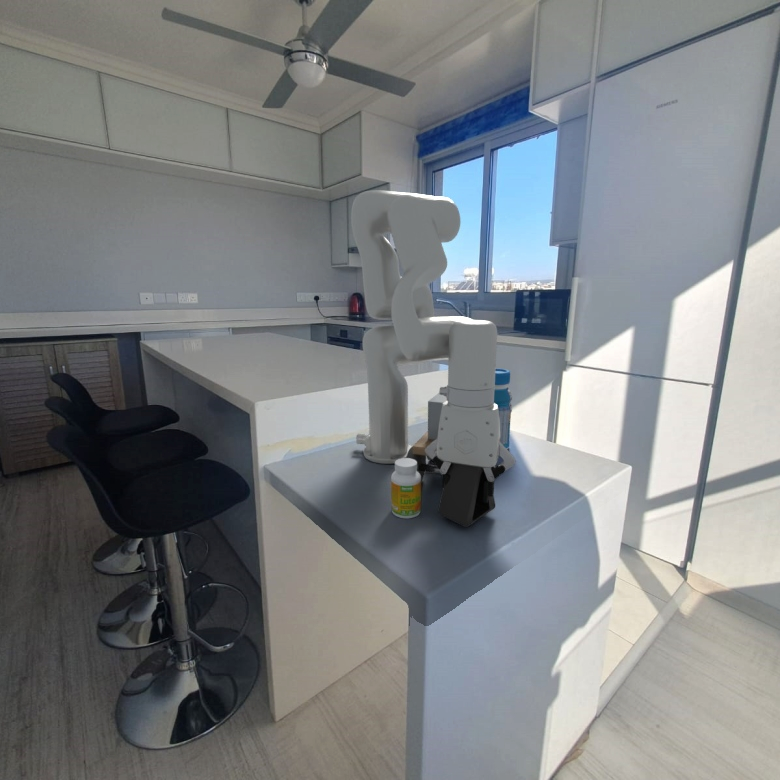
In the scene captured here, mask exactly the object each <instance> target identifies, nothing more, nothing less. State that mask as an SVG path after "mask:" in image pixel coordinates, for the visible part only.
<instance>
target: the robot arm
mask: <svg viewBox="0 0 780 780" xmlns="http://www.w3.org/2000/svg"><path fill="white" fill-rule="evenodd" d="M350 212H351V213H350V222H351V231H352V235H353V239H354V241H355V245H356V248H357V250H358V254H359V256H360V262H361V270H362V281H363V283H362V284H363V292H364V304H365V309H366V312H367V314H368V315H369V317H370V318H372V319H375V320H379V321H381V320H391V322H392V324H390V325H379V326H374V327H372V328H370V329H369V330H367V331H366V332H365V334H364V335H363V338H362V352H363V355H364V356H363V357H364V361H365V368H366V375H367V393H368V395H367V396H368V397H367V401H368V426H369V427H368V429H369V430H368V432H369V434H365V433H357V434H356V437H355V438H356V444H357V445H364V446H365V447H364V449H363V456H364V458H365V459H366V460H368V461H370V462H373V463H377V464H382V465H383V464H386V465H387V464H391V465H392V464H395V461H396V460H398V459H401V458H406V456H407V453H408V451H409V449H410V448H411V447H412V446H413V445H411V444H409V386H408V382H407V379H406V378H405V376H404V375H403V374H402V372H401V371H400V369H399V367H402V366H407V365H418V364H425V363H429V362H434V361H442V360H443V361H444V360H446V361H448V365H447V367H448V368H447V369H448V371H447V385H445V386H440V388H439V390H438V391H439V392H438V393H440V395H444V396H446V398H447V401H446V402H444V403H443V405H442V409H441V414H440V420H439V429H438V438H437V439H436V440H434V441H433V442H432V443H431V444H430V445H429V446H427V448H426V449H425V452H426V454H427V455H428V456H429V457H430V458H431V459H432V460H431V461H432V462H433V463H434V465H436V466H437V467H438V468H439V469H440V472H441V473H442V474H441V478H442V479H441V488H442V489H443V487H444V483H445V485H446V484H448V481H449V476H450V475H449V474H447V472H448V471H449V470H448V469H449V466H450V464H451V463H455V464H462V465H468V466H475V467H482V468H483V469H484V472H485V474H486V479H485V480H484V488H483V502H484V503H487V502H488V500H489V497H493V496H494V493H495V480H496V479H498V477H500V476H501V475H503V474H504V473H505V472H507V471H508V470H509V469H510V468H512V467H514V466H515V465H516V462H517V460H516V458H515V456H513V454H512V453H511V452H510V451H509V449H506V448H505V447H504V445H503V444H502V443H501V439H500V418H499V411H498V405H497V404H495V403H494V390H495V369H496V368H497V366H496V365H497V364H496V363H497V347H498V346H497V345H498V341H497V340H498V328H497V326H496V324H495V323H494V322H492V321H490V320H485V319H484V320H483V319H473V318H471V317H466V316H463V315H462V316H461V315H459V316H457V315H455V316H454V315H452V316H435V309H434V306H435V305H434V299H433V293H432V290H431V287H430V286H429V285H430V284H431V283H433V282H435V281H436V280H438V279H439V278H440V277H441V276H443V275H444V274H445V271H446V270H447V268H448V258H447V255H446V253H445V252H446V251H445V250H444V246H443V243H449V242H451V241H453V240H454V239H456V237H457V236H458V233H460V232H459V231H460V228H461V214H460V211H459V208H458V206H457V205H456V202H454V201H453V200H452V199H450V198H449V197H445V196H434V195H429V194H421V193H412V192H403V191H402V192H401V191H393V190H392V191H391V190H383V189H381V190H378V189H377V190H375V189H374V190H367V191H366V190H365V191H363V192H360V193H359V194H357V195H356V196H355V198H354V200H353V202H352V206H351V211H350ZM384 234H389V235H390V234H391V237H392V241H393V243H394V247H395V248H394V247H393V245H392V244H391V243H390V241H389V240H388V239H387V238H386V237H385V236H384ZM400 268H401V271H402V276H401V274H400ZM436 448H437V451H436ZM499 457H500V458H501V459H502V460H503V461H502V462H500V463H499V464H498V465H497V463H498V460H499Z"/></svg>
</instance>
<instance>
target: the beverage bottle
mask: <svg viewBox="0 0 780 780" xmlns="http://www.w3.org/2000/svg"><path fill="white" fill-rule="evenodd" d="M510 382H511V371H510V370H508V369H504V368H497V367H496V369H495V390H494V403H495V404H497V405H498V411H499V418H500V439H501V443H502V444H503V445H504V447H505V448H506V449H507V450H509V448H510V433H511V432H510V431H511V420H512V419H511V415H512V412H513V411H512V410H513V406H512V404H511V402H512V401H513V396H512V392H511V390H510V389H509V387H508V386H509V385H510Z"/></svg>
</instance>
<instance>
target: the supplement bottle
mask: <svg viewBox="0 0 780 780" xmlns="http://www.w3.org/2000/svg"><path fill="white" fill-rule="evenodd" d="M390 477H391V478H390V482H391V483H390V491H391V493H390V494H391V496H390V497H391V498H390V499H391V502H390V503H391V512H392V514H393V515H394V516H395V517H397V518H401V519H413V518H415V517H418V516H419V515H420V513H421V511H422V502H421V501H422V482H421V475H420V474H419V472H417V461H416V460H414V459H411V458H401V459H398V460H396V461H395V463H394V471H393V472H392V474H391V476H390Z"/></svg>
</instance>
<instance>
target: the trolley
mask: <svg viewBox="0 0 780 780" xmlns="http://www.w3.org/2000/svg"><path fill="white" fill-rule="evenodd" d="M446 401H447V398H446V396H444V395H440V393H439V392H438V393H437V394H436V395H434V396H433V397H432V398H430V399H429V400H428V401H427V431H426V432H425V433H424V435H422V436H421V437H420V438H419V439H418V440H417V441H416V442H415V443H414V444H413V445H411V446H412V447H411V448H410V449H409V451H408V453H407V456H406V458H411V459H414V460H416V461H417V472H419V474H420V475H421V483H422V482H423V480H424V476H425V473H430V474H435V475H442V473H441V472H440V469H439V468H438V467H437V466H436V465H435V464H434V465H433V464H429V463H428V464H427V460H428V461H433V460H432V459H431V458H430V457H429V456H428V455H427V454H426V452H425V449H426V448H427V446H429V445H430V444H431V443H432V442H433V441H434V440H436V439H437V438H438V429H439V420H440V414H441V409H442V405H443V403H444V402H446ZM436 451H437V448H436Z"/></svg>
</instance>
